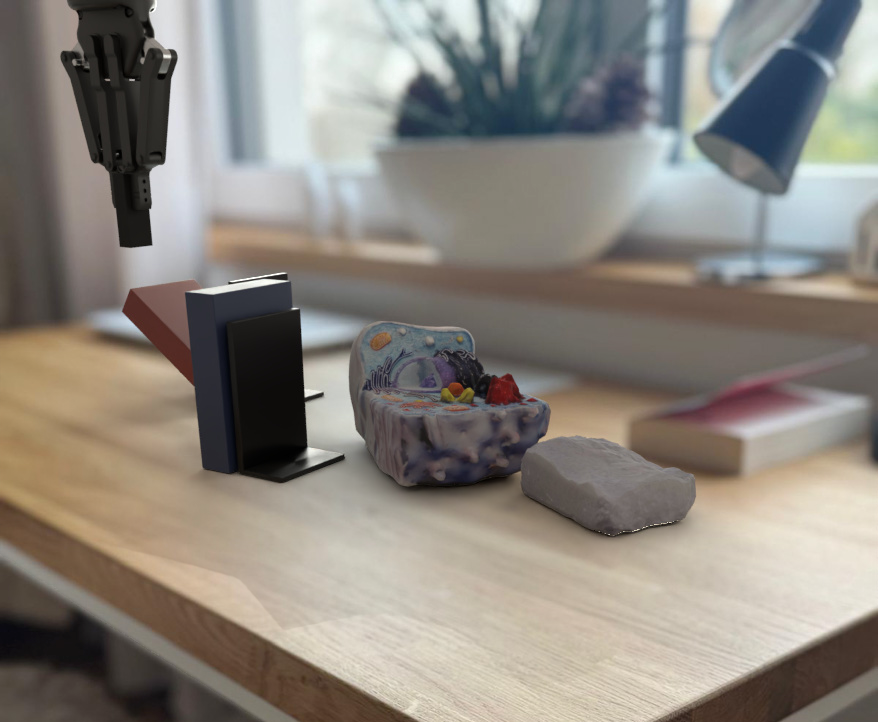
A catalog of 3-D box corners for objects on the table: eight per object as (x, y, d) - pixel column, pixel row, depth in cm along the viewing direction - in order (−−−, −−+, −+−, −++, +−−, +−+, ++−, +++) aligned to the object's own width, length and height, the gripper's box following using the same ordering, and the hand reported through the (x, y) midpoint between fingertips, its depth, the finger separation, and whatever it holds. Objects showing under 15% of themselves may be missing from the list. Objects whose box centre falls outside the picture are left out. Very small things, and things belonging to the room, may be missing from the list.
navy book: (184, 291, 82) (212, 294, 81) (263, 278, 89) (291, 280, 88) (202, 468, 88) (229, 473, 86) (275, 443, 95) (302, 447, 93)
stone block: (610, 495, 86) (504, 489, 81) (625, 437, 85) (518, 427, 80) (707, 548, 77) (594, 544, 72) (725, 483, 75) (612, 475, 70)
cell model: (449, 305, 96) (572, 348, 79) (448, 423, 100) (564, 488, 84) (311, 315, 90) (412, 364, 74) (315, 440, 95) (412, 512, 78)
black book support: (238, 473, 87) (225, 321, 82) (302, 450, 93) (294, 307, 88) (281, 483, 84) (271, 327, 79) (345, 458, 90) (339, 312, 86)
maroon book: (121, 311, 112) (129, 288, 110) (184, 300, 119) (193, 278, 117) (208, 402, 109) (218, 379, 107) (268, 385, 116) (279, 364, 114)
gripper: (193, -41, 92) (214, 247, 102) (93, -31, 99) (121, 238, 108) (124, -51, 86) (153, 255, 96) (22, -41, 93) (58, 244, 103)
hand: (136, 245), depth 102 cm, fingers closed
